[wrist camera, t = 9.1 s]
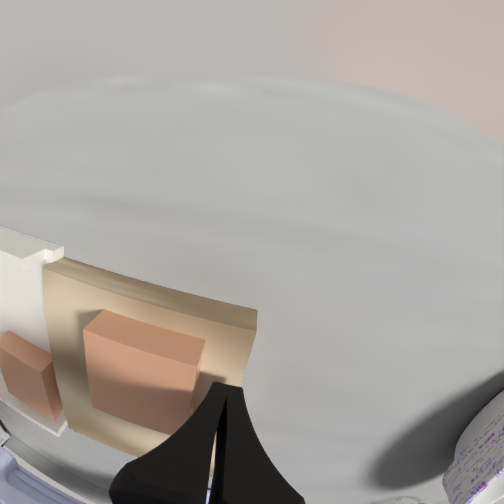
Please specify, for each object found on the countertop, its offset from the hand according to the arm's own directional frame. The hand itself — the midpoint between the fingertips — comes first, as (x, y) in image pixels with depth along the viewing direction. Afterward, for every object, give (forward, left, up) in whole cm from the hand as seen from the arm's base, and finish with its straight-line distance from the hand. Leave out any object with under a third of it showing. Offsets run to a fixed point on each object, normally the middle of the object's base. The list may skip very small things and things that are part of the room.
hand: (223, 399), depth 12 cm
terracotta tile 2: (0, +4, -1) cm, 4 cm away
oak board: (-3, +5, -3) cm, 6 cm away
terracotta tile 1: (-6, +14, -2) cm, 15 cm away
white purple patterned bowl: (-4, -27, -3) cm, 27 cm away
